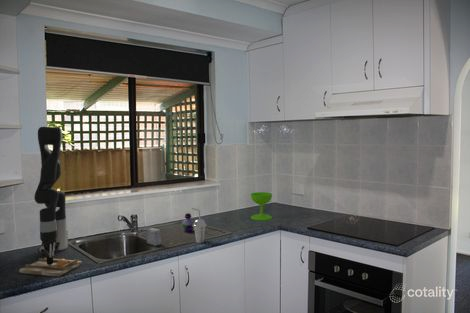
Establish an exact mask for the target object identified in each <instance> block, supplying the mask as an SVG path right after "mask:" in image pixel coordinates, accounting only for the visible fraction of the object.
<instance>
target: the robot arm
mask: <svg viewBox="0 0 470 313" xmlns="http://www.w3.org/2000/svg"><path fill="white" fill-rule="evenodd" d="M37 141H38V146H39V152H40V159H41V163H40V164H41V168H40V176H39V177H40V178H39V182H38V185H37V188H36V191H35V192H34V201H35V203H36V204H38V205H44V206H45V207H44V208H41V209H40V210H39V239H40V241H41V243H40V244H41V247H40V248H38V249H37V251H38V253H39V254H40V255H41V256H42V257H43V258H47V264H48V265H51V264H53V259H54V256H55V255H56V254H57V253H58V251H63V250H65V249H67V248H68V247H69V237H68V236H69V233H68V232H69V231H68V230H67V216H66V192H65V191H64V190H57V189H56V188H53V187H54V185H55V184H56V182H58V180H59V179H60V177H61V175H62V167H61V162H60V160H59V157H60V153H61V147H62V142H63V131H62V127H61V128H60V127H58V126H40V127H39V128H38V129H37ZM49 146H53V149H52V151H51V150H50V148H49ZM57 208H58V209H57Z"/></svg>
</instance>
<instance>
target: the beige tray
mask: <svg viewBox="0 0 470 313" xmlns="http://www.w3.org/2000/svg"><path fill="white" fill-rule="evenodd" d="M60 259H61V258H53V264H51V265H48V264H47V258H46V257H43V258H38V260H37V261H35V262H33V263H31V264H27V263H26V264H24V267H21V268H20V269H19V273H20V274H29V275H41V276H48V277H49V276H50V277H60V276H62V275H64V274H66V273H68V272H71V271H72V270H74V269H76V268H77V267H79V266H81V265H82V264H83V261H81V260H78V259H76V258H75V259H73V260H71V259H66V260H67V262H68V263H67V264H65V265H63V266H62V268H61V267H57V262H58V260H60Z"/></svg>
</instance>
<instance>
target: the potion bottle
mask: <svg viewBox="0 0 470 313" xmlns="http://www.w3.org/2000/svg"><path fill="white" fill-rule="evenodd" d="M184 218H185V219H184V220H182V221H181V223H182V227H183V231H184V233H193V230H194V227H193V224H194V222H195V220H193V219H191V218H192V215H191V213H187V212H186V213H185V215H184Z"/></svg>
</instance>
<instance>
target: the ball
mask: <svg viewBox="0 0 470 313" xmlns="http://www.w3.org/2000/svg"><path fill="white" fill-rule="evenodd" d="M59 259H60V260H58V262H57V267H61V268H62V266H63V265H65V264H67V263H68V262H67V260H68V259H65V258H59Z"/></svg>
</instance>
